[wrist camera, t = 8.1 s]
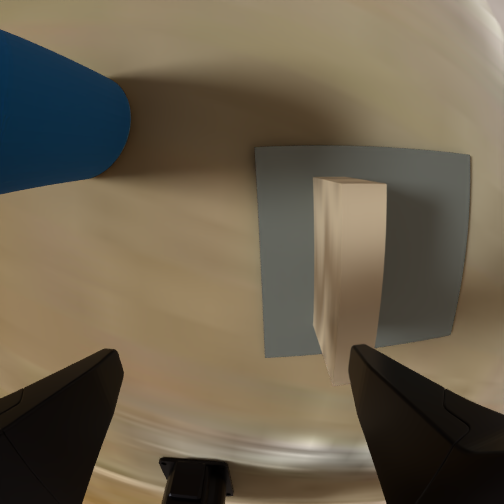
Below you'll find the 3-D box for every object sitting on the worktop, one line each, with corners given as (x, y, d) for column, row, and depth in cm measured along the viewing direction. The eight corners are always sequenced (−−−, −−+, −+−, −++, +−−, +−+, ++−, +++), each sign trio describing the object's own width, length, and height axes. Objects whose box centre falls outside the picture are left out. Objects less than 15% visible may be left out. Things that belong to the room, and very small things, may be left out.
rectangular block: (340, 322, 19) (368, 381, 13) (313, 325, 19) (332, 386, 13) (344, 176, 17) (386, 183, 11) (312, 176, 17) (341, 183, 11)
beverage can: (138, 70, 15) (6, -14, 4) (136, 174, 17) (-21, 203, 6) (53, 89, 15) (-87, 61, 4) (51, 183, 17) (-98, 218, 6)
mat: (447, 332, 20) (450, 335, 19) (264, 354, 20) (265, 357, 20) (466, 154, 16) (469, 154, 16) (254, 147, 17) (254, 147, 16)
